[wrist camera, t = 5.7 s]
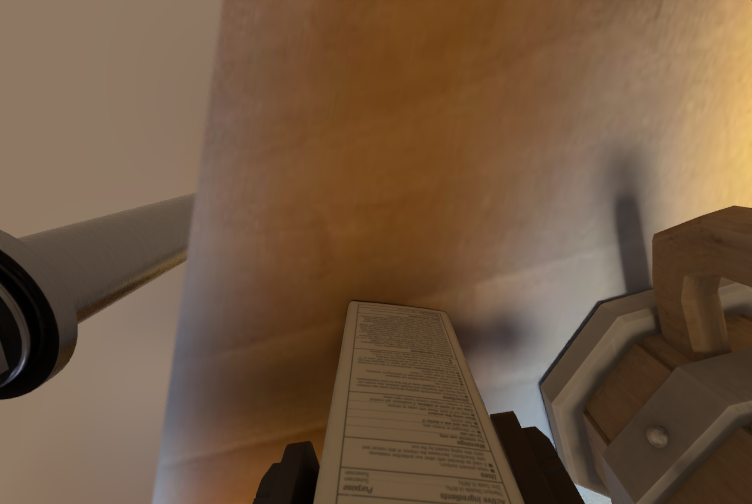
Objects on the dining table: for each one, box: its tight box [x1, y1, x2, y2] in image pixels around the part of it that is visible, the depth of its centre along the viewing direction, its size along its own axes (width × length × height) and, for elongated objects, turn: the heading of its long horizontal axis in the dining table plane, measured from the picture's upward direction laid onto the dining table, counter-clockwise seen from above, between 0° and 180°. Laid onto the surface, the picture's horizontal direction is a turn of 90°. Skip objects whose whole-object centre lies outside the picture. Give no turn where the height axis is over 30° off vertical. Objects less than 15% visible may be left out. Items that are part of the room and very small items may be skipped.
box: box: [313, 301, 525, 504], centre depth 13 cm, size 5×4×11 cm
